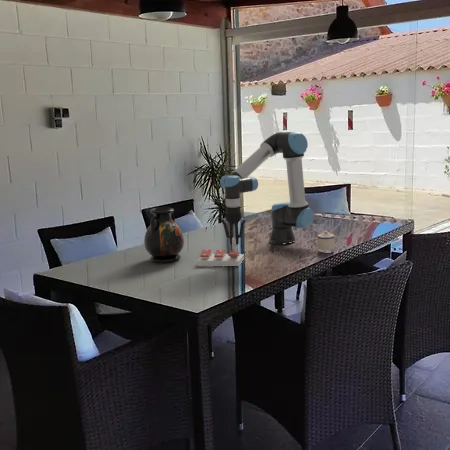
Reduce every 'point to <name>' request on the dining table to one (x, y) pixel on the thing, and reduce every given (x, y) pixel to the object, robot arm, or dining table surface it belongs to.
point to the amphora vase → (163, 237)
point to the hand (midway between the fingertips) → (234, 250)
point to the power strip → (220, 261)
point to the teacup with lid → (325, 241)
